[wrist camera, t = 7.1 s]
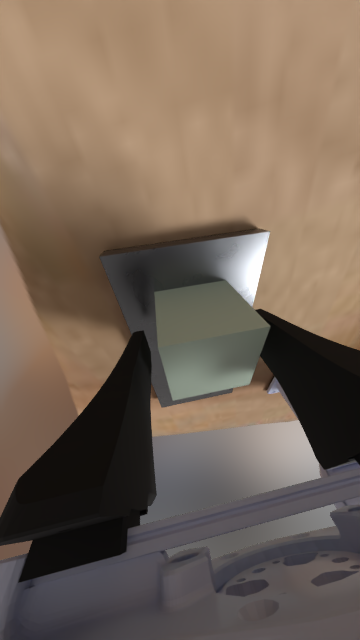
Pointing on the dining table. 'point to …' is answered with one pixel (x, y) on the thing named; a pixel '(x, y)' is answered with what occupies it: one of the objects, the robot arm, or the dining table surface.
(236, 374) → the sage green cube
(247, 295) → the base plate
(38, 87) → the dining table surface
